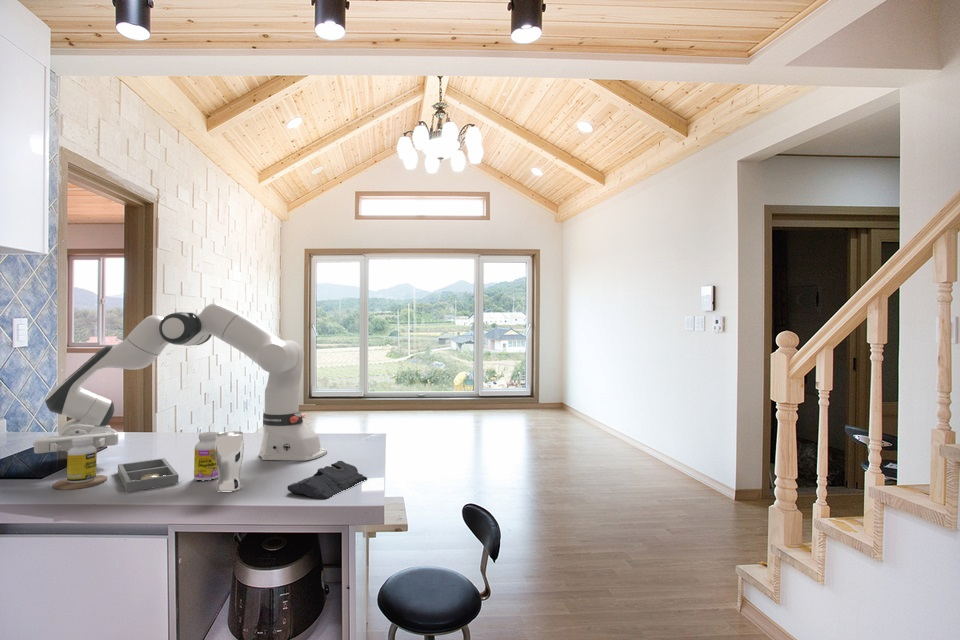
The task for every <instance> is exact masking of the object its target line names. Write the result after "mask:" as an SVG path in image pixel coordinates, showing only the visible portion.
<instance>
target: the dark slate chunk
mask: <svg viewBox="0 0 960 640" xmlns="http://www.w3.org/2000/svg"><path fill="white" fill-rule="evenodd" d="M358 471H359V470H358V468H357V467H356V466H355V465H353V464H349V463H347V462H344V461H343V460H338V461H336V462H334V463H330V465H329V466H328V465H326V466H324V467H323V468H322V467H319V468H318V469H317V472H316V473H314V474H313V475H312V476H310V477H308V478H307V477H306V478H303V479H302V480H299V481H297V482H293V483H291V484H289V485H288V486H287V488H286V489H287V491H288V492H290V493H294V494H298V495H302V494H303V495H305V496H307V497H310V498H313V499H317V500H327V499H331V498H333V497H334V496H333V495H335V494H337V493H339V492H341V491H343V490H346V489H348V488H350V487H352V486H354V485H355V484H357V483H359V482H361V481H364V480H366V481H367V480H368V477H367V476H365V475H363V474H362V473H359V472H358ZM364 482H365V481H364ZM354 487H355V486H354ZM352 488H353V487H352ZM350 489H351V488H350ZM348 490H349V489H348ZM346 491H347V490H346ZM341 493H342V492H341ZM339 494H340V493H339ZM337 495H338V494H337ZM332 496H333V497H332ZM335 496H336V495H335ZM330 497H331V498H330Z"/></svg>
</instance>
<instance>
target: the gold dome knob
mask: <svg viewBox="0 0 960 640" xmlns="http://www.w3.org/2000/svg"><path fill="white" fill-rule="evenodd" d="M154 477H159V474H148V475H144V476H141V479H147V478H154ZM141 479H140V480H141Z"/></svg>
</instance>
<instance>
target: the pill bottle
mask: <svg viewBox="0 0 960 640" xmlns="http://www.w3.org/2000/svg"><path fill="white" fill-rule="evenodd" d="M92 443H93V438H92V437H82V438H75V439H73V440H72V445H73V448H71V449H70V450H69V451H68V452H67V458H66V459H67V460H66V461H67V463H66V472H67V473H66V479H67V481H68V482H69V483H83V482H88V481H92V480H94V479H95V478H96V475H97V460H98V459H97V456H98V455H97V454H98V453H97V452H98V451H97V450H98V448H95V447H94V446H92Z"/></svg>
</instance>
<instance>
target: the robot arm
mask: <svg viewBox="0 0 960 640" xmlns="http://www.w3.org/2000/svg"><path fill="white" fill-rule="evenodd" d="M212 336H213V337H216V338H217V339H219V340H221V342H224V343H226V344H228V345H229V346H231V347H233V348H234V349H236V350H237V351H239V352H241V353H243V354H244V355H245V356H247V357H248V358H249V359H251V361H253V362H254V363H255V364H257V365H258V366H259V367H260V368H261V369H262V370H263V371H265V372H268V378H267V379H268V380H267V383H266V387H265V389H264V412H263V415H262V425H263V433H262V440H261V445H260V449H259V452H258V456H259V457H261V460H263V461H294V462H295V461H296V462H297V461H303V462H304V461H310V460H311V461H312V460H314V459H317V458H318V459H319V458H320V457H322V456H324V455H326V454H327V453H328V449H327V448H323V447H321V440H320V437H319V435H318V434H317V433H316V432H315V431H314V430H312V429H311V428H310V427H309V426H308V425H307V424H305V423H304V419H305V418H306V413H304V414H301V412H300V411H299V409H300V408H299V407H300V406H299V401H300V384H301V378H302V372H303V364H304V363H303V362H304V359H305V351H304V349H303V347H302V346H301V345H300V344H299V343H298V342H297V341H295V340H292V339H280V338H279V337H277V336H276V335H274V334H273V333H272V332H270V331H269V330H267V328H265V326H263V325H262V324H261V323H258V322H257V321H255V320H253V319H252V318H250V317H248V316H246V315H245V314H243V313H241V312H240V311H238V310H236V309H234V308H233V307H230V306H226V305H225V304H221V303H218V302H214V303H212V302H211V303H210V304H208V305H207V306H205V307H204V308H203V309H202V311H201V312H200V313H198V314H196V313H195V312H185V311H184V312H183V311H177V312H174V313H173V312H172V313H170V314H167V315H165V316H164V317H163V316H162V315H161V316H160V315H157V314H156V315H155V314H151V315H148V316H146V318H144V319H143V320H141V321H140V322H139V323H137V325H136V326H135V327H134V328H133V329H132V330H131V331H130V333H129V334H128V335H127V336H126V337H125V338H124V339H123V340H122V341H121V342H119V343H118V344H114V345H107V346H104V347H102V348H101V349H99V351H97V352H96V353H94V355H93V356H91V357H90V358H89V359H88V360H86V361H85V362H84V363H83V364H82V365H80V367H79V368H78V369H76V370H75V371H74V372H73V373H72V374H70V375H69V376H68V377H67V378H66V379H64V380H63V381H62V382H61V383H60V384H57V385H56V386H55V387H54V388H53V389H52V390H50V392H49V393H48V394H47V396H46V398H45V404H46V407H47V409H48V411H49V412H51V413H55V414H58V415H62V416H65V417H68V418H69V420H67V421H66V422H64V423H63V424H62V426H61V427H60V428H59V431H58V434H57V435H52V436H43V437H39V438H37V439H36V440H34V441H33V443H32V445H33V453H34V454H46V453H55V452H66V453H68V451H69V450H70V449H71V448H73V445H72V440H73V439H75V438H82V437H92V438H93V443H92V446H94V447H95V448H96V449H98V448H102V447H103V448H105V447H111V446H116V445H117V446H118V444H119V433H118V431H117V430H115V429H114V428H112V427H111V425H108V424H110V422H111V420H112V418H113V415H114V413H115V403H114V402H113V400H111V399H109V398H108V397H105V396H103V395H100V394H97V393H95V392H92V391H91V390H88V389H86V388H83V387H82V385H83V384H84V383H85V382H86V381H87V380H89V379H90V377H92V376H93V375H94V374H95V373H96V372H97V371H99V370H102V369H106V368H107V369H108V368H109V369H111V368H113V369H114V368H115V369H121V370H129V371H130V370H132V371H133V370H136V371H137V370H141V369H144V368H145V369H146V368H148V367H149V366H150V365H152V364H153V362H154V361H156V359H157V358H158V356H160V354H161V353H162V352H163V350H164V349H165V348H166V346H168V345H169V344H171V345H174V346H175V345H176V346H184V347H185V346H186V347H191V346H200V345H203V344H205V343H207V342H208V341H209V340H210V339H211V338H212Z"/></svg>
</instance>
